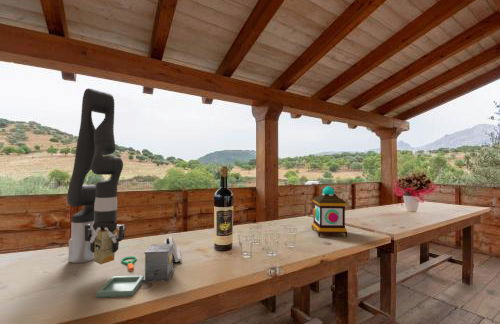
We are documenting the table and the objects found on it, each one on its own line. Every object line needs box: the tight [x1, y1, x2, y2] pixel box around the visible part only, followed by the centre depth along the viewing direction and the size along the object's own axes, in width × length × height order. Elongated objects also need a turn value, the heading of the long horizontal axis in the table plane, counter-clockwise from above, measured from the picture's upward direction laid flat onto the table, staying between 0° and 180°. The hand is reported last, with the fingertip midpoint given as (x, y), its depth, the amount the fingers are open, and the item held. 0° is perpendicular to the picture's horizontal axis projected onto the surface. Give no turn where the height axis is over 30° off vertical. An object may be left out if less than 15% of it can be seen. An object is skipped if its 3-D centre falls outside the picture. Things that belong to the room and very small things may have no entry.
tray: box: [95, 274, 145, 299], centre depth 83 cm, size 11×11×2 cm
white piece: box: [163, 236, 183, 265], centre depth 112 cm, size 17×5×10 cm, turn 19°
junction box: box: [142, 243, 175, 283], centre depth 93 cm, size 9×10×11 cm
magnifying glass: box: [121, 256, 137, 272], centre depth 103 cm, size 15×6×2 cm, turn 31°
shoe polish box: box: [93, 229, 116, 265], centre depth 92 cm, size 5×5×12 cm
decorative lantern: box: [311, 185, 348, 238], centre depth 154 cm, size 20×20×30 cm
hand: (104, 251), depth 92 cm, fingers closed on shoe polish box, 7 cm apart
